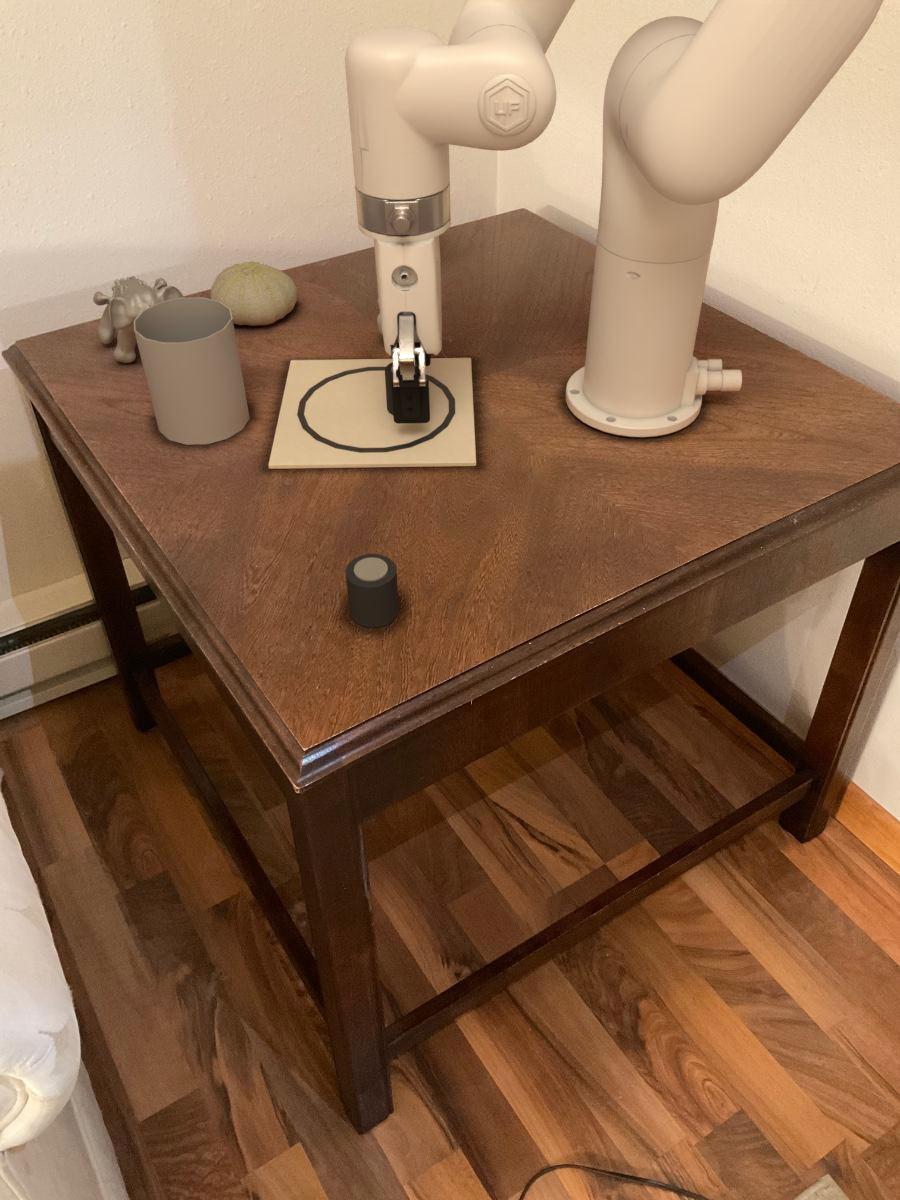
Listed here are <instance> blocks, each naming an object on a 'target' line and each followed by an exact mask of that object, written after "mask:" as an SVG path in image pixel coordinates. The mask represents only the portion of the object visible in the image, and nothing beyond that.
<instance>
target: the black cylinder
mask: <svg viewBox="0 0 900 1200" xmlns="http://www.w3.org/2000/svg"><path fill="white" fill-rule="evenodd" d="M399 365H400V364H399ZM417 365H418V367H419V362H417V361H415V366H417ZM391 381H393V362H392V363H390V364H388V365H387V366H386V368H385V384H386V400H387V410H388V412H389V413H390V414H392V415H393V403H392V388H391Z"/></svg>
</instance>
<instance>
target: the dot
mask: <svg viewBox="0 0 900 1200" xmlns="http://www.w3.org/2000/svg"><path fill="white" fill-rule="evenodd" d="M397 571H398V570H397V566H396V563H395V562H394V561H393V560H392V559H391V558H389V557H388V556H385V555H383V554H378V553H368V554H367V553H365V554H362V555H358V556H357V557H355V558H353V559H351V561H349V563H348V564H347V565H346V568H345V578H346V591H347V600H348V608H349V609H348V610H349V615H350V617H351V619H352V621H353V622H354V623H356V624H357V625H359V626H361V627H364V628H371V629H373V628H374V629H376V628H382V627H386V626H387V625H389V624H391V623H393V622H394V620H396V618H397V617H398V615H399V613H400V603H399V590H398V573H397Z"/></svg>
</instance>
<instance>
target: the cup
mask: <svg viewBox="0 0 900 1200" xmlns="http://www.w3.org/2000/svg"><path fill="white" fill-rule="evenodd" d="M134 332H135V336H136V340H137V343H136V345H137V349H138V352H139V356H140V359H141V364H142V368H143V372H144V375H145V380H146V384H147V388H148V392H149V396H150V401H151V404H152V408H153V409H152V410H153V413H154V417H155V420H156V424H157V429H158V432H159V433H161V434H162V435H163V436H164V437H165V439H167V440H168V441H171V442H175V443H179V444H182V445H186V446H187V445H188V446H189V445H194V446H195V445H210V444H213V443H217V442H221V441H224V440H227V439H228V440H229V438H231V437H233V436H234V435H236V434H238V433H239V432H241V431H243V430H244V428H245V426H246V425H247V423H248V422H249V420H250V419H251V418H250V412H249V407H248V400H247V395H246V389H245V383H244V376H243V371H242V366H241V365H242V364H241V361H240V353H239V348H238V342H237V337H236V331H235V324H233V319H232V313H231V309H230V308H229V307H227V306H226V305H224V304H223V303H221V302H220V301H216V300H212V299H211V298H207V297H201V296H199V297H197V296H196V297H195V296H194V297H184V298H177V299H173V300H168V301H164V302H160V303H157V304H155V305H153V306H151V307H149V308H147V309H145V310H143V311H142V312H141V313H140V314H139V315H138V316H137V318H136V319H135V320H134Z"/></svg>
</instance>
